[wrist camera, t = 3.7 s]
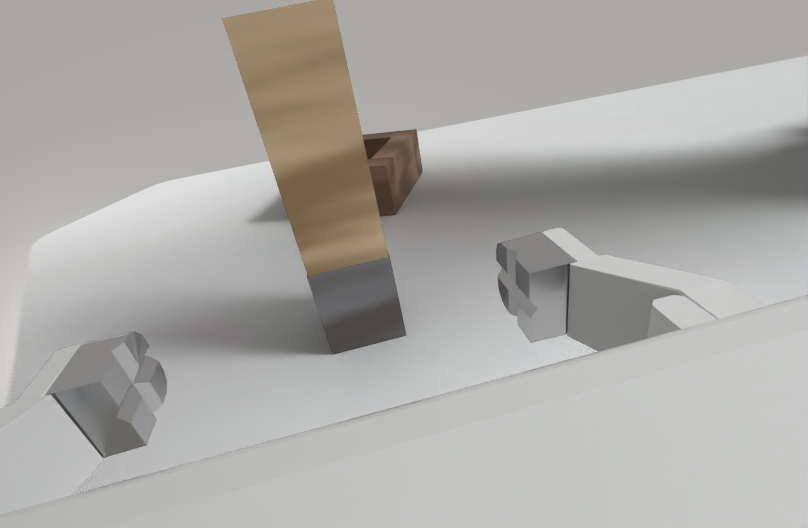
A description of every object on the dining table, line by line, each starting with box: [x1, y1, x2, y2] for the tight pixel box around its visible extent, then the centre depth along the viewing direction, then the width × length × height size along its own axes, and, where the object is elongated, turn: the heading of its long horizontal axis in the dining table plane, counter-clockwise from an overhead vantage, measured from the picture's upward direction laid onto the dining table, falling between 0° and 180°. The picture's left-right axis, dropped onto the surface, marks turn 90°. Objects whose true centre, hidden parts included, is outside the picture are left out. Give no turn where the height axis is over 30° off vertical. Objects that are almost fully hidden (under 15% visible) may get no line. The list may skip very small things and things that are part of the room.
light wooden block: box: [222, 0, 406, 354], centre depth 21 cm, size 4×4×16 cm
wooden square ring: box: [362, 129, 423, 215], centre depth 42 cm, size 10×10×4 cm
